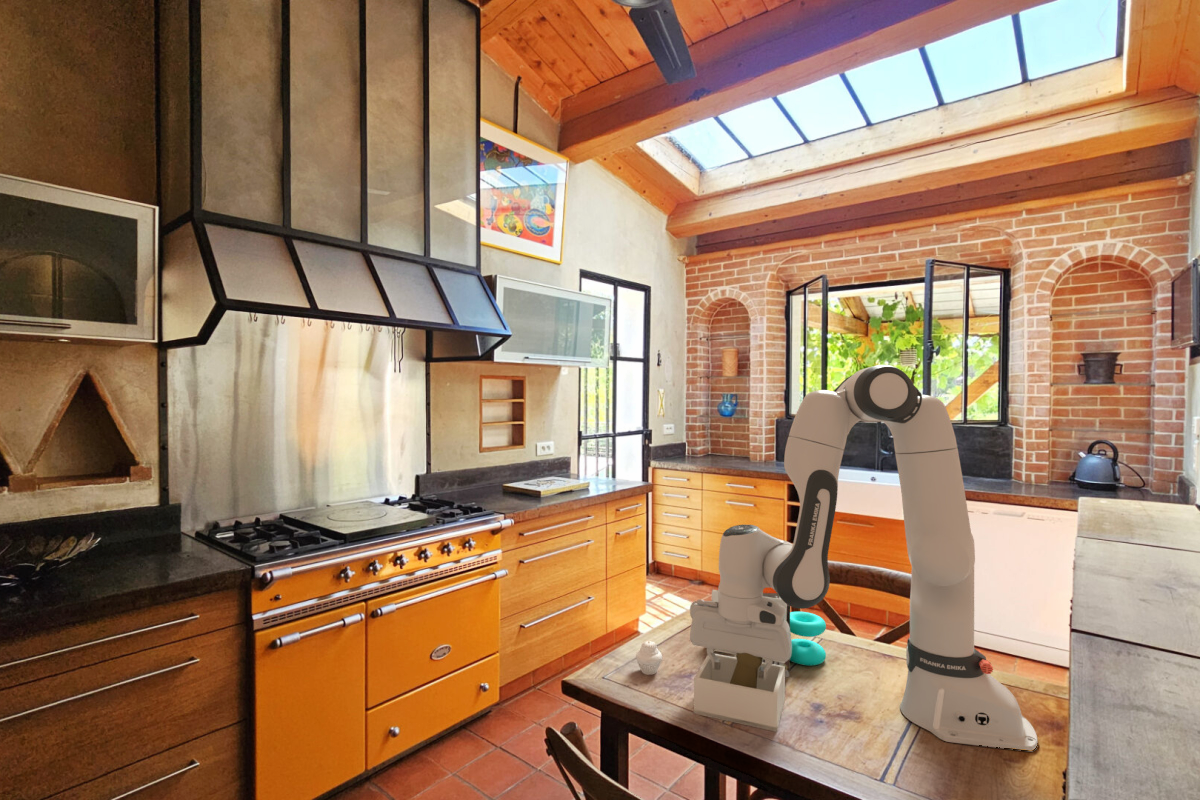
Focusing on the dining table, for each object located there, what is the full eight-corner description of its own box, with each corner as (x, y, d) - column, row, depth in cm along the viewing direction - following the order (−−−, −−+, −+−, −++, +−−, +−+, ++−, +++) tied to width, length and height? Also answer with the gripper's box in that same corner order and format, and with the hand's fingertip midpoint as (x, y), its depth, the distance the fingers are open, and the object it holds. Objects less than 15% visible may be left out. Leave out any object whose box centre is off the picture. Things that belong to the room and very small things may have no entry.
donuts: (823, 611, 147) (828, 626, 137) (822, 651, 147) (828, 669, 137) (781, 608, 149) (783, 622, 140) (781, 647, 149) (783, 665, 140)
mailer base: (784, 699, 123) (784, 666, 123) (777, 731, 112) (777, 694, 112) (708, 684, 130) (708, 652, 130) (693, 713, 118) (693, 678, 118)
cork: (745, 712, 117) (756, 659, 116) (720, 696, 121) (730, 645, 120) (761, 702, 121) (771, 651, 120) (735, 687, 125) (745, 638, 124)
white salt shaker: (630, 670, 137) (630, 640, 137) (650, 663, 140) (650, 633, 140) (647, 680, 132) (648, 649, 132) (668, 673, 135) (668, 642, 135)
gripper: (686, 602, 122) (685, 669, 122) (790, 618, 114) (789, 690, 114) (694, 593, 128) (693, 657, 128) (793, 608, 120) (792, 676, 120)
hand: (739, 673), depth 121 cm, fingers open, 8 cm apart
